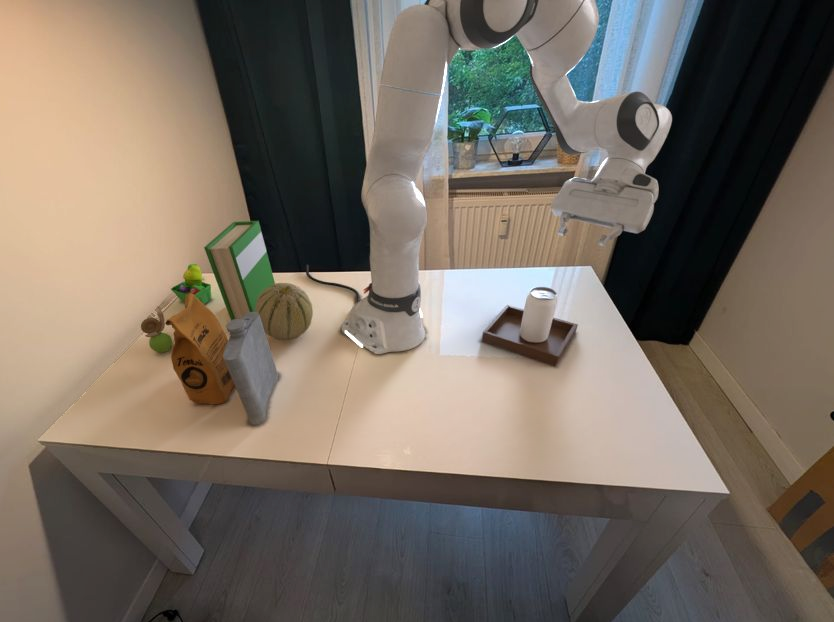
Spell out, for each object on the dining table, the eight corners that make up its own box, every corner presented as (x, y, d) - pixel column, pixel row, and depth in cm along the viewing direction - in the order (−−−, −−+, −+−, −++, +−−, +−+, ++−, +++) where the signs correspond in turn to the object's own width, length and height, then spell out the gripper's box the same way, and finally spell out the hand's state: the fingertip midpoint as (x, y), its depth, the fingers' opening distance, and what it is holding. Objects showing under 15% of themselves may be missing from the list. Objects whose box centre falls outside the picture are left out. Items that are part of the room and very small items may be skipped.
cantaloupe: (267, 322, 108) (252, 274, 99) (317, 316, 108) (308, 268, 99) (259, 354, 96) (241, 303, 87) (316, 347, 97) (305, 296, 87)
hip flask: (263, 424, 77) (233, 348, 65) (244, 425, 78) (210, 349, 65) (279, 373, 90) (257, 300, 78) (263, 373, 90) (238, 302, 78)
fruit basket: (175, 302, 122) (160, 270, 115) (197, 290, 128) (185, 259, 121) (198, 310, 117) (184, 277, 110) (220, 297, 122) (208, 265, 115)
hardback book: (258, 327, 106) (232, 246, 91) (233, 327, 107) (204, 247, 93) (278, 295, 120) (258, 220, 105) (256, 295, 121) (233, 221, 106)
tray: (481, 341, 93) (482, 332, 91) (505, 313, 102) (506, 304, 100) (555, 366, 84) (558, 356, 82) (575, 333, 92) (578, 324, 91)
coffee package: (184, 407, 83) (139, 325, 70) (208, 369, 93) (171, 291, 80) (227, 407, 82) (189, 324, 69) (246, 369, 92) (216, 290, 78)
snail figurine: (182, 347, 102) (164, 309, 94) (159, 359, 98) (138, 321, 91) (174, 340, 105) (155, 303, 97) (151, 351, 101) (130, 314, 94)
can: (543, 328, 94) (554, 285, 86) (550, 343, 89) (562, 299, 81) (516, 328, 95) (524, 286, 87) (522, 344, 90) (531, 300, 82)
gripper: (566, 168, 88) (534, 222, 89) (666, 181, 75) (627, 244, 76) (571, 184, 92) (541, 234, 94) (666, 199, 79) (629, 257, 81)
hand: (580, 239), depth 85 cm, fingers open, 8 cm apart
